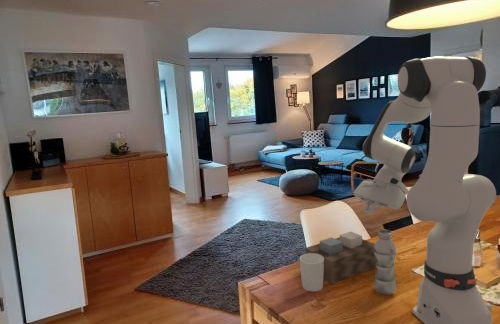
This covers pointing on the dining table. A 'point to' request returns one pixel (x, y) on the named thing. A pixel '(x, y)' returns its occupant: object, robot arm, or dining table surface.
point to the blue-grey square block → (331, 246)
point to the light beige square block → (351, 239)
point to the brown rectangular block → (346, 261)
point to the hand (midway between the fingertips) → (367, 212)
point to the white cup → (312, 271)
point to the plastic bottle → (385, 263)
